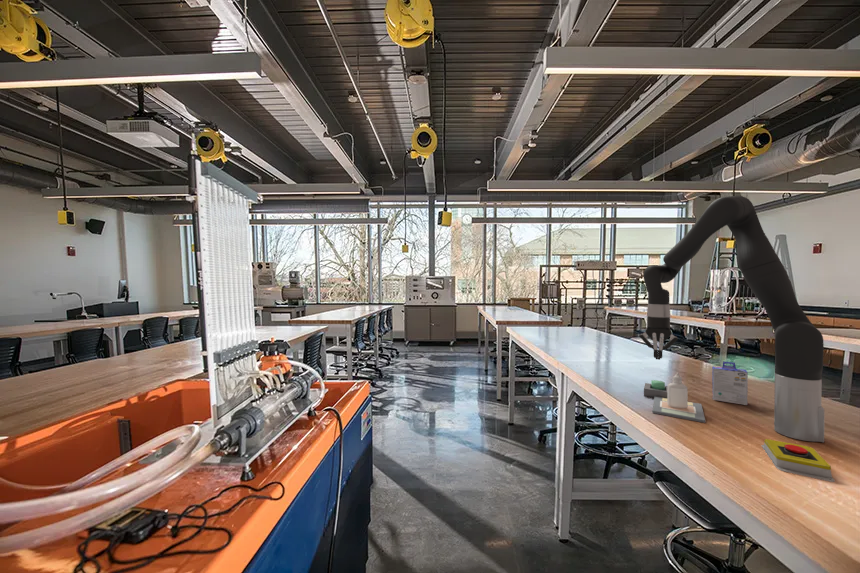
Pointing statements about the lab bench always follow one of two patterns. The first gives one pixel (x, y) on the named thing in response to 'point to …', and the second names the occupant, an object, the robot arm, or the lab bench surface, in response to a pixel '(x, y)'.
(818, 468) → the emergency button
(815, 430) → the robot arm
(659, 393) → the button housing
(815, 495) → the lab bench surface
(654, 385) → the button
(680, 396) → the eye dropper bottle
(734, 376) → the ink cartridge box
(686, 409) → the colouring board
